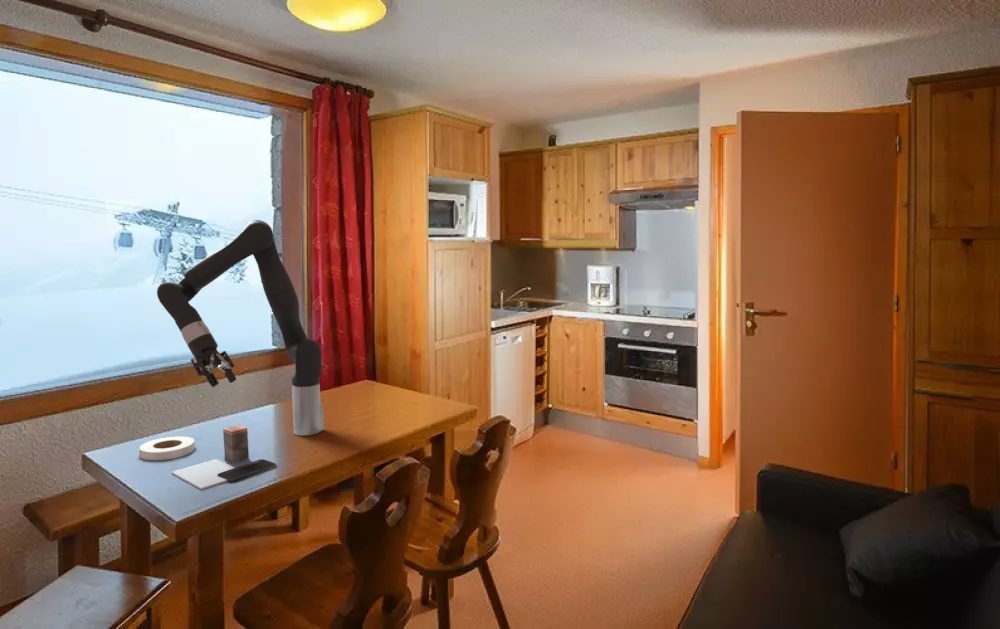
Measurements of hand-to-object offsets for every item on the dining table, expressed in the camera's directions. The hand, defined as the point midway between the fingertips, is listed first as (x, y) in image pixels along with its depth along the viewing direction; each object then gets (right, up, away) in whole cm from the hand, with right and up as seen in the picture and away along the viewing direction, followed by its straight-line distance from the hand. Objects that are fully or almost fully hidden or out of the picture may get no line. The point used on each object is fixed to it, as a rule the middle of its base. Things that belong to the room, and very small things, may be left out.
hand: (224, 383), depth 186 cm
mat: (+1, -25, -12) cm, 28 cm away
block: (+4, -23, -1) cm, 24 cm away
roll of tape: (-21, -23, +6) cm, 32 cm away
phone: (+11, -25, -10) cm, 29 cm away
